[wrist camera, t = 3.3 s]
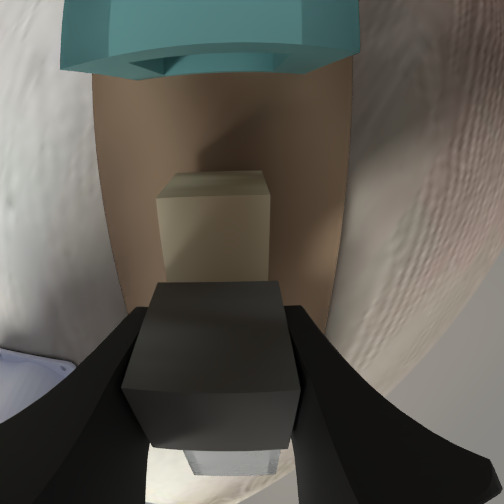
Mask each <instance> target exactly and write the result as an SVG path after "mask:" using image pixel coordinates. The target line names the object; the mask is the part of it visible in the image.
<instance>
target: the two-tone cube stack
mask: <svg viewBox="0 0 504 504" xmlns="http://www.w3.org/2000/svg"><path fill="white" fill-rule="evenodd" d="M156 205H157V214H158V222H159V230H160V238H161V245H162V252H163V259H164V266H165V272H166V278H167V282H158V283H157V285H156V288H155V291H154V293H153V296H152V299H151V301H150V304H149V307H148V309H147V312H146V315H145V318H144V320H143V323H142V326H141V329H140V332H139V334H138V337H137V340H136V343H135V346H134V349H133V352H132V355H131V358H130V361H129V364H128V367H127V370H126V374H125V377H124V380H123V383H122V386H121V389H122V391H123V393H124V395H125V397H126V399H127V401H128V403H129V405H130V407H131V409H132V411H133V412H134V414H135V416H136V418H137V420H138V422H139V424H140V425H141V427H142V429H143V431H144V433H145V434H146V436H147V438H148V440H149V441H150V443H151V445H152V446H153V447H155V448H165V449H177V450H192V451H263V450H279V449H288V447H289V442H290V438H291V434H292V429H293V425H294V420H295V415H296V411H297V406H298V401H299V396H300V391H301V388H300V383H299V378H298V373H297V368H296V363H295V358H294V354H293V349H292V344H291V339H290V334H289V329H288V324H287V320H286V315H285V310H284V305H283V301H282V296H281V291H280V287H279V282H278V281H268V267H269V233H270V192H269V190H268V187H267V184H266V181H265V178H264V175H263V173H262V171H212V172H188V173H176V174H175V176H174V177H173V178H172V179H171V180H170V182H169V183H168V184H167V185H166V186H165V188H164V189H163V190H162V191H161V193H160V194H159V195H158V196H157V198H156Z"/></svg>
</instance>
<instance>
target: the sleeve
mask: <svg viewBox="0 0 504 504" xmlns="http://www.w3.org/2000/svg"><path fill="white" fill-rule="evenodd" d="M280 450H281V449H279V450H263V451H192V450H183V452H184V454H185V456H186V458H187V460H188V463H189V465H190V467H191V469H192V471H193V473H194V475H208V476H251V475H271V474H276V470H277V465H278V460H279V455H280Z"/></svg>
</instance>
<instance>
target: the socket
mask: <svg viewBox="0 0 504 504" xmlns="http://www.w3.org/2000/svg"><path fill="white" fill-rule="evenodd" d="M357 53H360V23H359V2H358V0H65V1H64V10H63V20H62V33H61V54H60V70H68V71H77V72H86V73H94V74H101V75H107V76H114V77H120V78H126V79H131V80H136V81H137V80H143V79H151V78H158V77H167V76H177V75H188V74H202V73H224V72H271V73H293V74H306V73H308V72H311V71H313V70H315V69H318V68H320V67H323V66H325V65H328V64H330V63H333V62H335V61H338V60H341V59H343V58H346V57H349V56H351V55H354V54H357Z"/></svg>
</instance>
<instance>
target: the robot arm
mask: <svg viewBox="0 0 504 504" xmlns="http://www.w3.org/2000/svg"><path fill="white" fill-rule="evenodd" d="M147 309H148V307H135V308H134V309H133V310H132V311H131V312H130V314H129V315H128V316H127V317H126V318H125V319H124V320H123V321H122V322H121V323H120V324H119V325H118V326H117V327H116V328H115V329H114V330H113V331H112V333H111V334H110V335H109V336H108V337H107V338H106V339H105V340H104V341H103V342H102V343H101V344H100V345H99V346H98V347H97V348H96V349H95V350H94V351H93V352H92V353H91V354H90V355H89V356H88V357H87V358H86V359H85V360H84V361H83V362H82V363H81V364H80V365H79V366H78V367H77V368H76V366H75V365H74V364H73V363H71V362H69V361H63V360H56V359H50V358H45V357H39V356H34V355H29V354H24V353H19V352H14V351H10V350H5V349H1V348H0V504H145V491H146V472H147V459H148V451H149V444H150V441H149V440H148V438H147V436H146V434H145V433H144V431H143V429H142V427H141V425H140V424H139V422H138V420H137V418H136V416H135V414H134V412H133V411H132V409H131V407H130V405H129V403H128V401H127V399H126V397H125V395H124V393H123V391H122V389H121V386H122V383H123V380H124V377H125V374H126V370H127V367H128V364H129V361H130V358H131V355H132V352H133V349H134V346H135V343H136V340H137V337H138V334H139V332H140V329H141V326H142V323H143V320H144V318H145V315H146V312H147ZM284 310H285V315H286V320H287V324H288V329H289V334H290V339H291V344H292V349H293V354H294V358H295V363H296V368H297V373H298V378H299V383H300V388H301V391H300V396H299V401H298V406H297V411H296V415H295V420H294V425H293V429H292V434H291V439H292V444H293V450H294V456H295V465H296V474H297V485H298V497H299V504H484V503H486V502H487V501H489V500H491V499H492V498H494V497H495V496H497V495H498V494H500V493H501V491H502V486H501V484H500V481H499V479H498V476H497V474H496V472H495V469H494V467H493V465H492V463H491V461H490V460H489V459H487V458H485V457H482V456H480V455H478V454H475V453H473V452H471V451H468V450H466V449H464V448H462V447H459V446H457V445H455V444H453V443H451V442H449V441H448V440H446V439H444V438H442V437H440V436H439V435H437V434H435V433H433V432H432V431H430V430H428V429H427V428H425V427H424V426H422V425H421V424H419V423H418V422H416V421H415V420H413V419H412V418H410V417H409V416H407V415H406V414H405V413H403V412H402V411H400V410H399V409H398V408H396V407H395V406H394V405H393V404H392V403H390V402H389V401H388V400H386V399H385V398H384V397H383V396H382V395H381V394H380V393H378V392H377V391H376V390H375V389H374V388H373V387H372V386H371V385H369V384H368V383H367V382H366V381H365V380H364V379H363V378H362V377H361V376H360V375H359V374H358V373H357V372H356V371H355V370H354V369H353V368H352V367H351V366H350V364H349V363H348V362H347V361H346V360H345V359H344V358H343V357H342V356H341V354H340V353H339V352H338V351H337V350H336V349H335V348H334V346H333V345H332V344H331V343H330V342H329V340H328V339H327V338H326V337H325V336H324V334H323V333H322V332H321V330H320V329H319V328H318V327H317V325H316V324H315V323H314V321H313V320H312V319H311V317H310V316H309V314H308V313H307V312H306V310H305V309H304V308H303V307H302V306H301V305H290V306H284Z"/></svg>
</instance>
